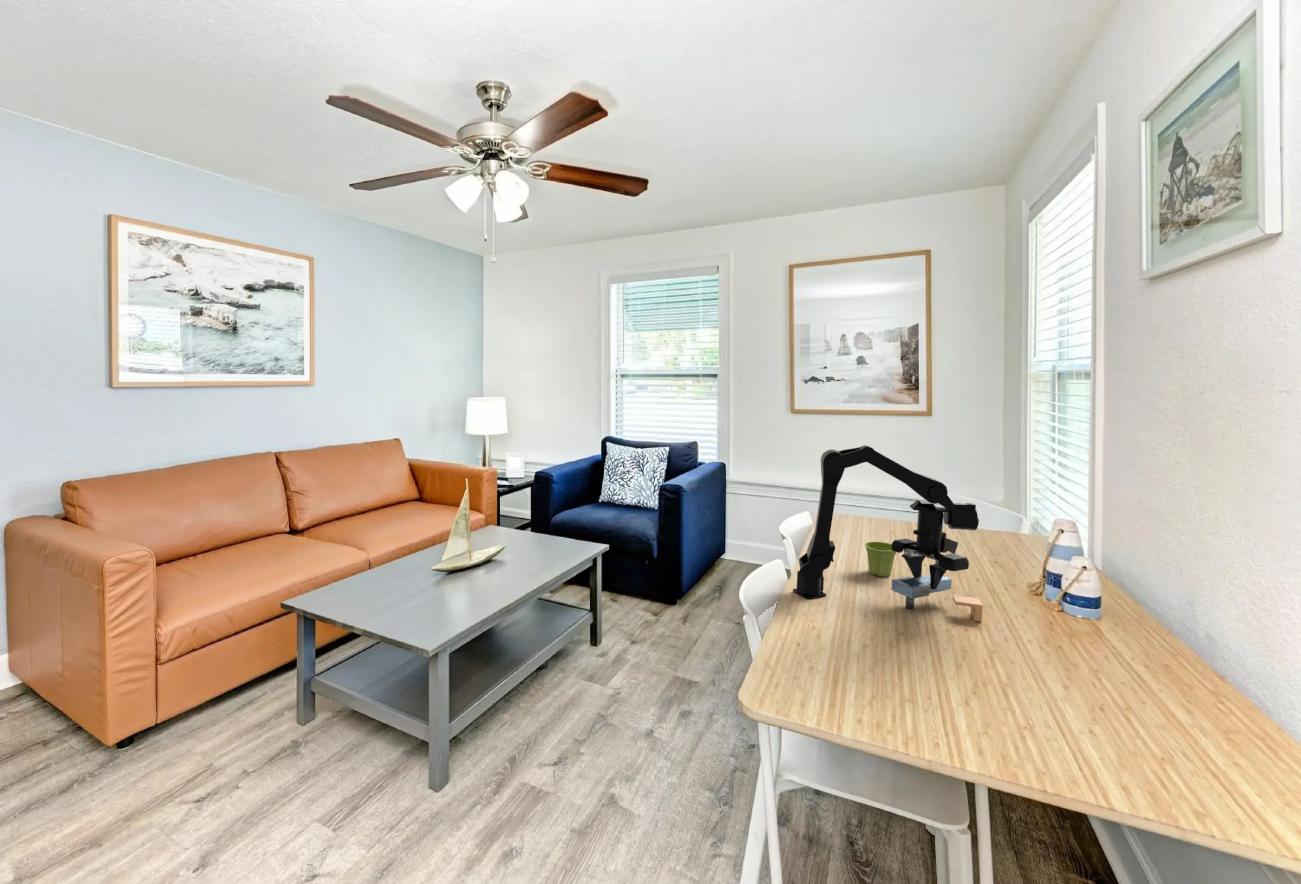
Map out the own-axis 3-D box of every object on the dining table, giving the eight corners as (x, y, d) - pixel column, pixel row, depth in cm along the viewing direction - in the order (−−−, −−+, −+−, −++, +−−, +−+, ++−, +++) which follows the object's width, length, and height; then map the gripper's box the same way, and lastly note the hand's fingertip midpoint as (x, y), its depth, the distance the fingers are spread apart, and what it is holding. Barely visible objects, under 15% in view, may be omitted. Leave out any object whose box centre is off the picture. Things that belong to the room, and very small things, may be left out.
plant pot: (902, 579, 154) (904, 550, 153) (870, 578, 154) (871, 550, 154) (888, 568, 164) (890, 541, 163) (858, 568, 164) (859, 541, 163)
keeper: (954, 617, 128) (955, 601, 128) (951, 610, 132) (952, 595, 132) (981, 621, 126) (982, 605, 125) (977, 614, 130) (978, 598, 130)
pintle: (910, 609, 132) (910, 594, 132) (903, 606, 134) (904, 591, 134) (915, 608, 133) (916, 593, 133) (909, 605, 135) (910, 590, 135)
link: (911, 598, 129) (912, 588, 129) (891, 590, 135) (892, 579, 135) (954, 590, 135) (954, 580, 135) (933, 582, 141) (933, 572, 141)
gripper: (986, 533, 128) (981, 594, 130) (921, 516, 146) (917, 570, 147) (954, 538, 124) (950, 601, 126) (891, 520, 141) (888, 575, 143)
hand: (925, 586), depth 135 cm, fingers closed on link, 4 cm apart
